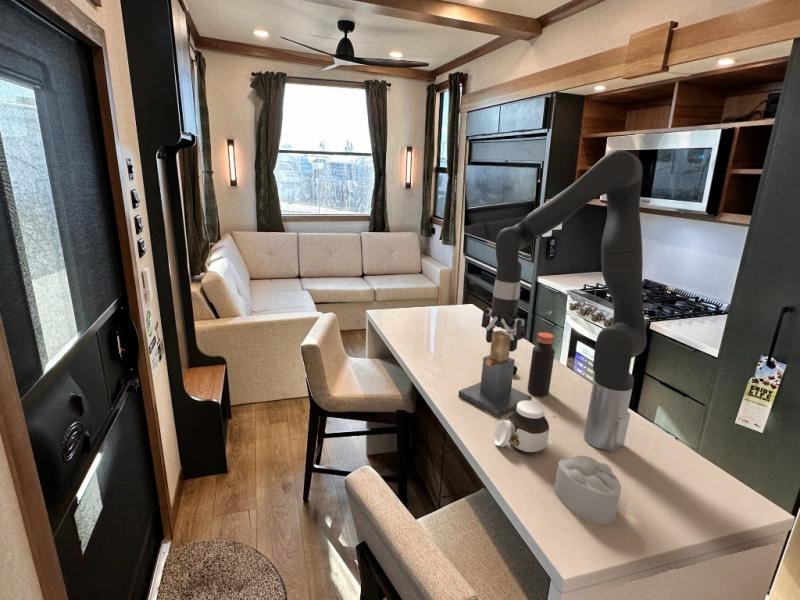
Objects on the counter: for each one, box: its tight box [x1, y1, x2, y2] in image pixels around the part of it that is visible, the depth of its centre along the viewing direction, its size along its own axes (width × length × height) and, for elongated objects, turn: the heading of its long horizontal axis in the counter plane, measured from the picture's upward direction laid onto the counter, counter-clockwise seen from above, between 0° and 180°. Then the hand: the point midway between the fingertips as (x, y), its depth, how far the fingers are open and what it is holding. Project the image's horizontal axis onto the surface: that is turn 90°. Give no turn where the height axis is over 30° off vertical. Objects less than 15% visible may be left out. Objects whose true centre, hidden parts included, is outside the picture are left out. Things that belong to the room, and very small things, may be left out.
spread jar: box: [493, 400, 550, 455], centre depth 116 cm, size 12×11×12 cm
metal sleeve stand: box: [457, 354, 533, 419], centre depth 139 cm, size 16×16×14 cm
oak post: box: [489, 329, 511, 363], centre depth 138 cm, size 4×4×20 cm
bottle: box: [527, 331, 556, 398], centre depth 145 cm, size 7×7×20 cm
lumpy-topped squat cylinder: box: [553, 455, 622, 526], centre depth 97 cm, size 10×13×9 cm
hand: (500, 346), depth 136 cm, fingers open, 8 cm apart
